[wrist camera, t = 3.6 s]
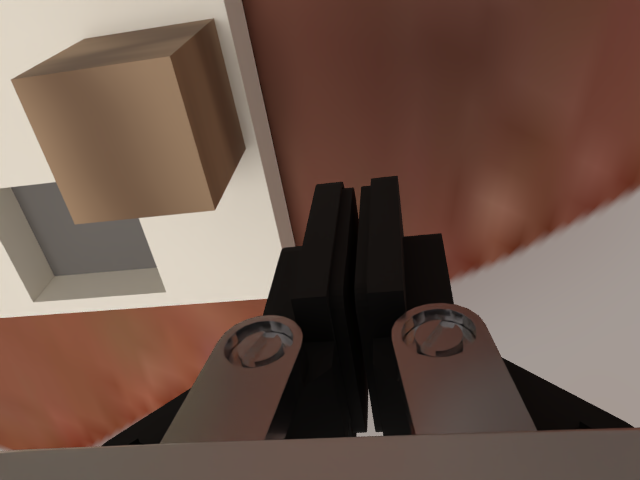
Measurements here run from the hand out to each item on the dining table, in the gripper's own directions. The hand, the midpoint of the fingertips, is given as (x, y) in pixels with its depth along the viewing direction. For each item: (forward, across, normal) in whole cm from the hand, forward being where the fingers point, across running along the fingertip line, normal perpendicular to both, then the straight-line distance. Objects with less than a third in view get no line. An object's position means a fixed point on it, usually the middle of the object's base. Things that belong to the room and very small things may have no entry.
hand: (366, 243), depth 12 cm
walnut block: (+11, +8, -1) cm, 13 cm away
